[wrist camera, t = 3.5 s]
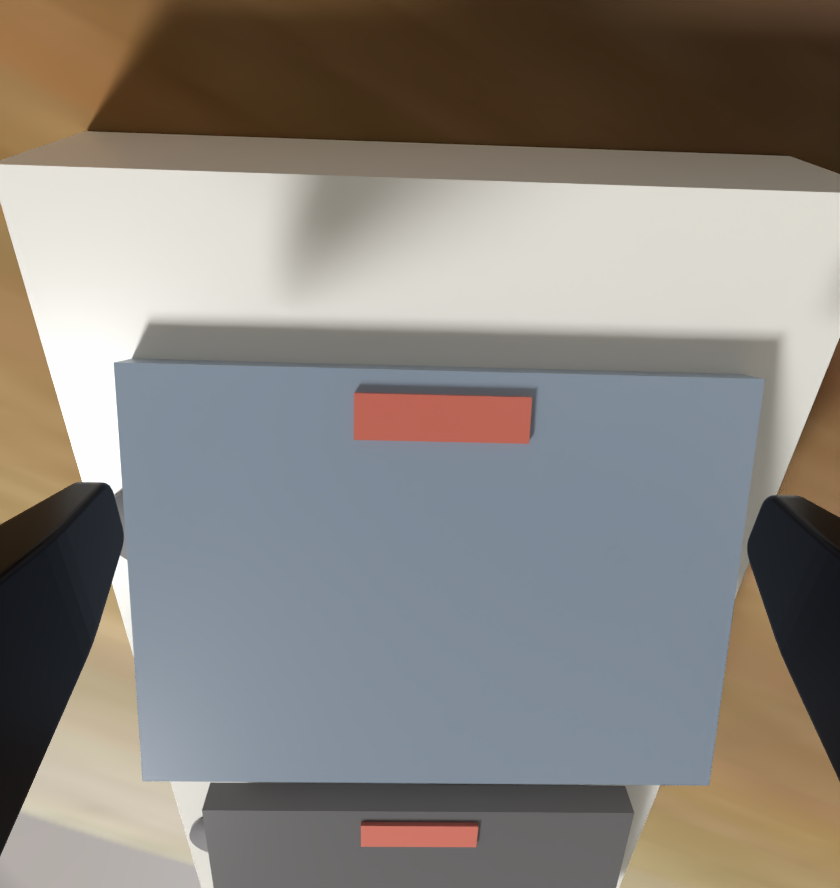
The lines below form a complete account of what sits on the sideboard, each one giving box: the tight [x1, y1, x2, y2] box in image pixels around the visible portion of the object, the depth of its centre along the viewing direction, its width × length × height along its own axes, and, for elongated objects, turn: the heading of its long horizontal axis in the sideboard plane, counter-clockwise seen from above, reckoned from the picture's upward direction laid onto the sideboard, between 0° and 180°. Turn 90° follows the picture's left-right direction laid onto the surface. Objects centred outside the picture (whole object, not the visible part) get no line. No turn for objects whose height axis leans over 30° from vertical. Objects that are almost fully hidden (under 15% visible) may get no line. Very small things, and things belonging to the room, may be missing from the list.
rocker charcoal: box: [202, 782, 634, 888], centre depth 19 cm, size 11×8×2 cm
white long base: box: [0, 131, 840, 888], centre depth 18 cm, size 14×25×4 cm, turn 178°
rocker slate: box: [114, 359, 765, 785], centre depth 13 cm, size 11×8×2 cm
